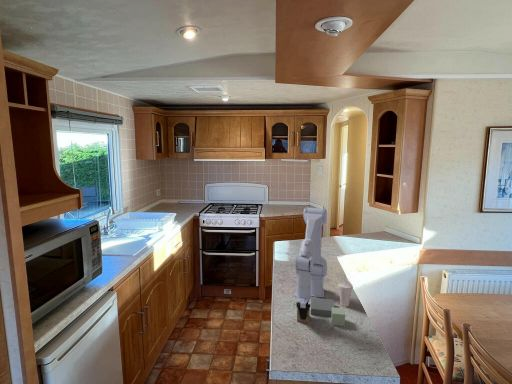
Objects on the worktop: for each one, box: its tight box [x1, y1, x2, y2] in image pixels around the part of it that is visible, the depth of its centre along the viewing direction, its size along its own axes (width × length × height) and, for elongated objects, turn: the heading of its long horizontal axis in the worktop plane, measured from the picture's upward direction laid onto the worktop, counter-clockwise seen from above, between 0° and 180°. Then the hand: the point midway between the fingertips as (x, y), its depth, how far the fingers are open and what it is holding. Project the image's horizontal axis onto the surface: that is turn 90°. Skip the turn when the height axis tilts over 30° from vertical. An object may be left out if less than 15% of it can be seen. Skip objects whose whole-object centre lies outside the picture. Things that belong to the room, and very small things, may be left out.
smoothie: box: [337, 274, 354, 308], centre depth 142 cm, size 6×6×14 cm
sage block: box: [330, 306, 346, 327], centre depth 128 cm, size 5×5×5 cm
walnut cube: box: [296, 307, 311, 324], centre depth 131 cm, size 5×5×5 cm
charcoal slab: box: [310, 297, 335, 317], centre depth 138 cm, size 10×10×3 cm
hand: (303, 315), depth 131 cm, fingers closed on walnut cube, 5 cm apart
